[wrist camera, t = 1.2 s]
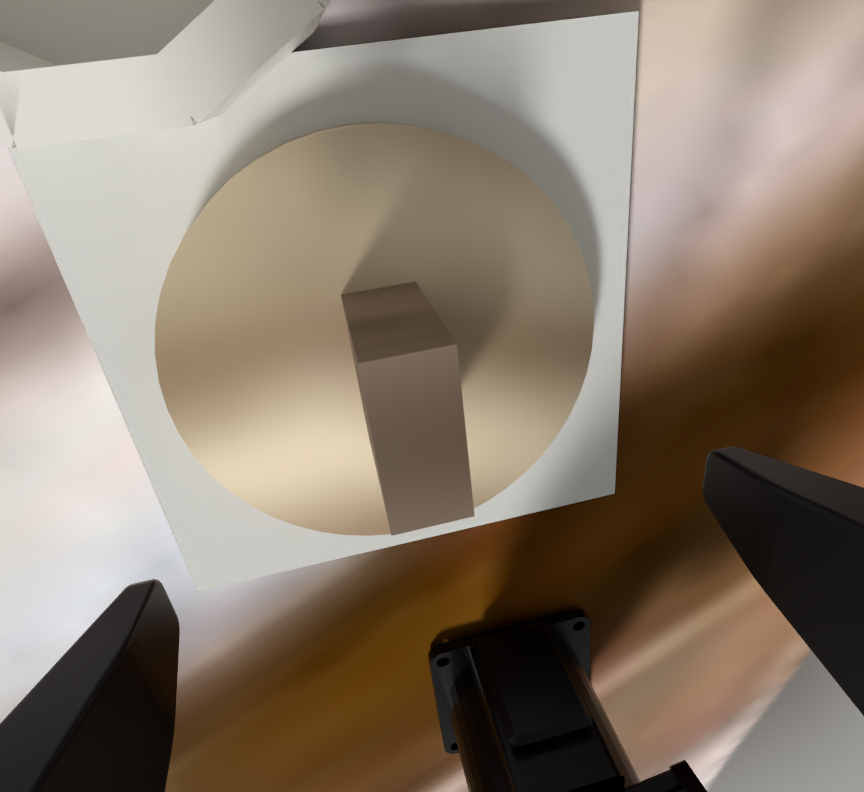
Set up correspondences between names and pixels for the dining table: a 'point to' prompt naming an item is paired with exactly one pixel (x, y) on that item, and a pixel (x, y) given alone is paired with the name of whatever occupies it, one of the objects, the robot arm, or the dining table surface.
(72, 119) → the bowl
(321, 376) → the lid
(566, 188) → the mat
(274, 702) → the dining table surface
